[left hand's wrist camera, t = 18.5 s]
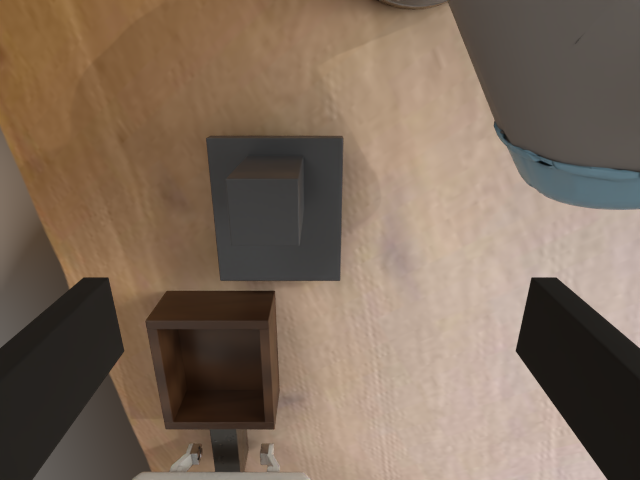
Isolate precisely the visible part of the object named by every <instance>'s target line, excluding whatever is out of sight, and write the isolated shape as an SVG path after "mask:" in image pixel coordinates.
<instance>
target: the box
mask: <svg viewBox="0 0 640 480" xmlns="http://www.w3.org/2000/svg"><path fill="white" fill-rule="evenodd" d="M146 326H147V332H148V337H149V343H150V348H151V353H152V359H153V364H154V369H155V375H156V380H157V385H158V391H159V396H160V402H161V407H162V412H163V418H164V422H165V428H166V429H210V435H211V442H212V450H213V457H214V465H215V472H244V470H245V465H246V460H247V455H248V440H247V429H275V421H276V414H277V406H278V398H279V391H280V390H279V369H278V348H277V326H276V305H275V291H167V292H166V293H165V294H164V296H163V297H162V299H161V300H160V301H159V303H158V304H157V306H156V307H155V308H154V310H153V311H152V313H151V314H150V315H149V317H148V318H147V320H146Z"/></svg>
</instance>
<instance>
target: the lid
mask: <svg viewBox="0 0 640 480" xmlns="http://www.w3.org/2000/svg"><path fill="white" fill-rule="evenodd" d="M206 142H207V152H208V162H209V172H210V182H211V191H212V201H213V211H214V221H215V231H216V241H217V251H218V261H219V271H220V280H221V281H340V264H341V218H342V171H343V137H342V136H209V137H208V138H206Z"/></svg>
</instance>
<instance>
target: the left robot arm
mask: <svg viewBox="0 0 640 480" xmlns="http://www.w3.org/2000/svg"><path fill="white" fill-rule="evenodd" d="M378 1H380V2H382V3H385V4H387V5H390V6H394V7H397V8H403V9H424V8H430V7H434V6H438V5H441V4H444V3H446V2H448V3H449V6H450V8H451V11H452V13H453V16H454V18H455V21H456V23H457V26H458V28H459V31H460V33H461V36H462V38H463V41H464V44H465V46H466V49H467V51H468V54H469V56H470V59H471V61H472V64H473V66H474V69H475V71H476V74H477V76H478V79H479V81H480V84H481V87H482V89H483V92H484V94H485V97H486V99H487V102H488V104H489V107H490V109H491V112H492V114H493V117H494V119H495V122H494V128H495V130H496V133H497V135H498V137H499V138H500V140H501V141H502V142H503V143H504V144H505V145H506V146H507V148H508V150H509V152H510V154H511V156H512V158H513V161H514V163H515V165H516V167H517V169H518V172H519V173H520V175H521V177H522V178H523V179H524V180H525V181H526V183H527V184H528V185H530V186H531V187H534V188H535V189H537V190H538V191H539V192H540V193H542V194H543V195H544V196H546V197H548V198H551V199H553V200H556V201H559V202H562V203H566V204H569V205H574V206H580V207H586V208H594V209H611V210H628V209H640V0H378ZM123 352H124V347H123V343H122V338H121V334H120V329H119V324H118V320H117V315H116V310H115V306H114V301H113V297H112V292H111V287H110V283H109V278H83V279H81V280H80V281H79V282H78V283H77V284H76V285H74V286H73V287H72V288H71V289H70V290H68V291H67V292H66V293H65V294H64V295H63V296H61V297H60V298H59V299H58V300H57V301H56V302H54V303H53V304H52V305H51V306H50V307H48V308H47V309H46V310H45V311H44V312H43V313H41V314H40V315H39V316H38V317H37V318H35V319H34V320H33V321H32V322H31V323H30V324H28V325H27V326H26V327H25V328H24V329H22V330H21V331H20V332H19V333H18V334H17V335H15V336H14V337H13V338H12V339H11V340H10V341H8V342H7V343H6V344H5V345H4V346H2V347H1V348H0V480H33V478H34V477H35V475H36V474H37V473H38V471H39V470H40V468H41V467H42V466H43V464H44V463H45V461H46V460H47V459H48V457H49V456H50V454H51V453H52V452H53V450H54V449H55V447H56V446H57V444H58V443H59V442H60V440H61V439H62V438H63V436H64V435H65V433H66V432H67V431H68V429H69V428H70V426H71V425H72V423H73V422H74V421H75V419H76V418H77V417H78V415H79V414H80V412H81V411H82V409H83V408H84V407H85V405H86V404H87V402H88V401H89V400H90V398H91V397H92V396H93V394H94V393H95V391H96V390H97V389H98V387H99V386H100V384H101V383H102V382H103V380H104V379H105V377H106V376H107V375H108V373H109V372H110V370H111V369H112V368H113V366H114V365H115V363H116V362H117V361H118V359H119V358H120V356H121V355H122V354H123ZM516 352H517V354H518V355H519V356H520V358H521V359H522V361H523V362H524V363H525V365H526V366H527V368H528V369H529V370H530V372H531V373H532V375H533V376H534V377H535V379H536V380H537V382H538V383H539V384H540V386H541V387H542V389H543V390H544V391H545V393H546V394H547V396H548V397H549V398H550V400H551V401H552V403H553V404H554V405H555V407H556V408H557V410H558V411H559V412H560V414H561V415H562V417H563V418H564V419H565V421H566V422H567V424H568V425H569V426H570V428H571V429H572V431H573V432H574V433H575V435H576V436H577V438H578V439H579V440H580V442H581V443H582V445H583V446H584V447H585V449H586V450H587V452H588V453H589V454H590V456H591V457H592V459H593V460H594V461H595V463H596V464H597V466H598V467H599V468H600V470H601V471H602V473H603V474H604V475H605V477H606V478H607V480H640V348H639V347H638V346H636V345H635V344H634V343H633V342H632V341H631V340H629V339H628V338H627V337H626V336H625V335H623V334H622V333H621V332H620V331H619V330H618V329H616V328H615V327H614V326H613V325H612V324H610V323H609V322H608V321H607V320H606V319H605V318H603V317H602V316H601V315H600V314H599V313H597V312H596V311H595V310H594V309H593V308H592V307H590V306H589V305H588V304H587V303H586V302H585V301H583V300H582V299H581V298H580V297H579V296H577V295H576V294H575V293H574V292H573V291H572V290H570V289H569V288H568V287H567V286H566V285H564V284H563V283H562V282H561V281H560V280H559V279H557V278H531V283H530V287H529V292H528V297H527V301H526V306H525V310H524V315H523V320H522V324H521V329H520V334H519V338H518V343H517V347H516Z"/></svg>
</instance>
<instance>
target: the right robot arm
mask: <svg viewBox="0 0 640 480" xmlns="http://www.w3.org/2000/svg"><path fill="white" fill-rule="evenodd" d="M202 453H203V449H202V444H195V443H190V444H189V446H188V449H187V451H186V454H184V455H183V456H182V457H181V458H180V459H178V460H177V461H176V462H175V463H174V464H173V465H172V466H171V468H170V471H169V472H141V473H139V474H138V475H137V476H135V477H134V478H133V479H132V480H311V479H310V478H309V477H308V476H307V474H306V473H304V472H280V466H279V464H278V462H277V460H276V459H275V457H274V444H262V445H261V451H260V458H261V465H268V468H267V472H187V470H188V469H189V468H190V467H191V466H192V465H198V464H199V463H200V460H201V459H200V458H201V457H202Z"/></svg>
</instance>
